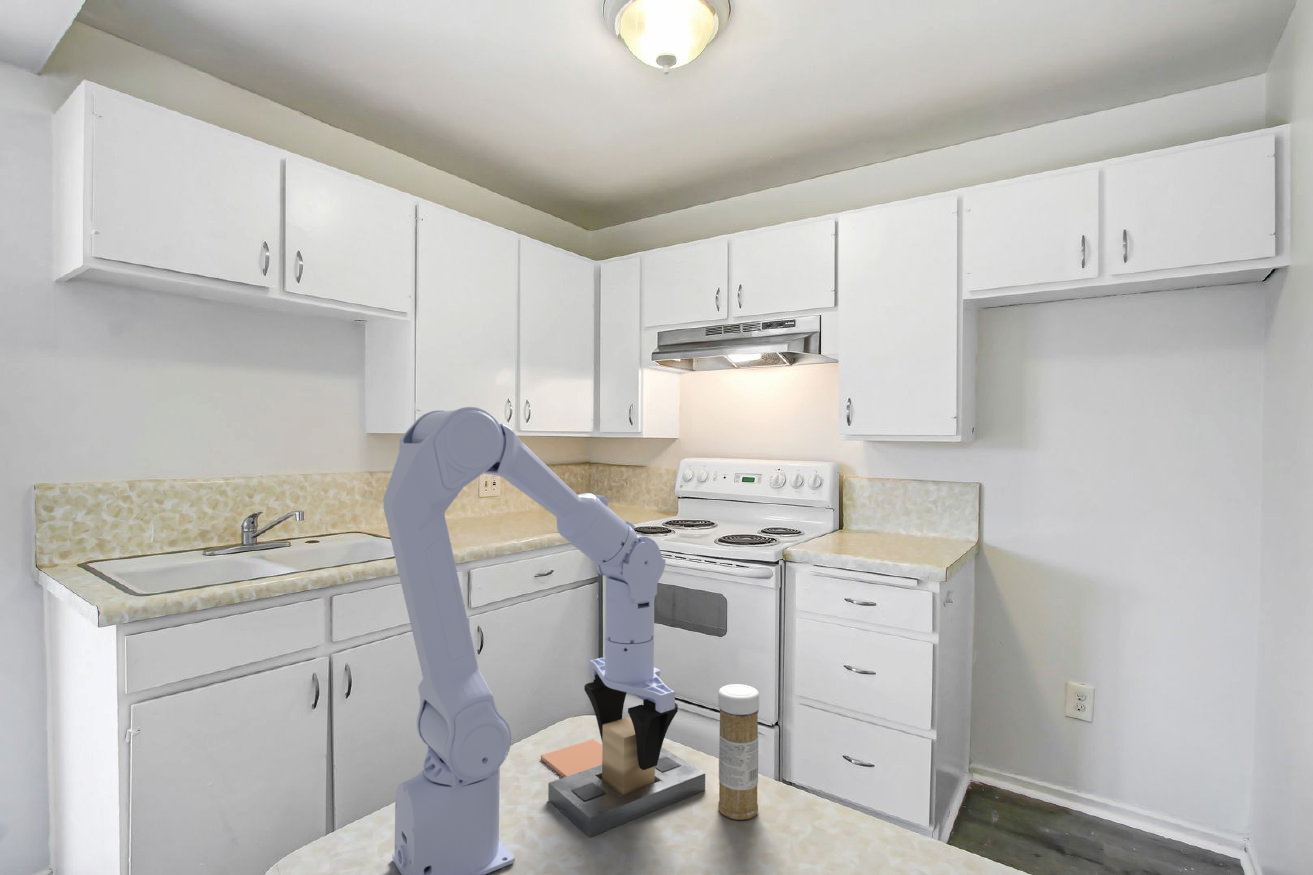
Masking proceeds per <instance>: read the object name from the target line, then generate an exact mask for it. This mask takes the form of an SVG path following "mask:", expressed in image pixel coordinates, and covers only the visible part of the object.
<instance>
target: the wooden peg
mask: <svg viewBox="0 0 1313 875" xmlns="http://www.w3.org/2000/svg"><path fill="white" fill-rule="evenodd" d="M601 745H602V781H603V782H605V783H606V784H607V785H609V786H610V787H611V788H613V789H614V790H615V791H617V792H618V793H619V794H621V795H625V794H627V793H630V792H633V791H635V790H638V789H641V788H643V787H646V786H648V785H651V784H654V783H655V766H654V767H651V768H649V769H646V770H642V769H640V767H639V764H638V757H637V742H636V735H635V730H634V726H633V723H632V720H631V718H630V716H628V717H624V718H622V719H621V720H617V721H614V722H610V723H607V724H603V738H602V740H601Z"/></svg>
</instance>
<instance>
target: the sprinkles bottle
mask: <svg viewBox="0 0 1313 875" xmlns="http://www.w3.org/2000/svg"><path fill="white" fill-rule="evenodd" d="M717 699H718V700H717V703H718V704H717V705H718V708H719V741H718V742H719V744H718V745H719V746H718V748H719V749H718V750H719V751H718V781H719V782H718V784H719V785H718V786H719V787H718V789H719V791H718V792H719V793H718V795H719V796H718V798H719V800H718V804H717V807H718V810H719V811H720V813H721V814H722V815H724V816H725V817H727V818H730V819H731V820H742V821H743V820H749V819H752V818H754V817H755V816H756V815H757V814H758V811H759V804H758V784H759V732H758V729H759V726H758V725H759V721H758V720H759V719H758V717H759V716H758V714H759V711H760V710H759V709H760V692H759V691H758V690H757V688H755V687H754V686H751V685H747V684H742V683H741V684H740V683H735V684H734V683H732V684H727V685H723V686H722V687H720V688H719V689H718V698H717Z"/></svg>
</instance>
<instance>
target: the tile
mask: <svg viewBox="0 0 1313 875" xmlns="http://www.w3.org/2000/svg"><path fill="white" fill-rule="evenodd" d="M540 760H541V761H543V763H545V764H546V765H547V766H549V767H550V768H551V769H552V770H553V771H554V772H556V773H557V774H559V776H561V777H562V778H564V777H567V776H570V775H573V774H576V773H579V772H582V771H585V770H588V769H591V768H594V767H597V766H600V765H602V743H600V742H598V741H596V740H595V739H589V740H586V741H583V742H580V743H576V744H574V745H570V746H566V747H564V748H561V749H558V750H553V751H551V752H548V753H544V754H542V755H541V754H540Z"/></svg>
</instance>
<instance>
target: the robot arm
mask: <svg viewBox="0 0 1313 875" xmlns="http://www.w3.org/2000/svg"><path fill="white" fill-rule="evenodd" d="M514 431H515V430H513V429H511V428H510V427H509V426H508V425H505V424H503V423H499V421H498V419H496V417H495V416H494V415H493V414H492V413H490V412H489V411H487V410H485V409H483V408H480V407H476V406H466V407H465V406H464V407H460V408H457V409H453V410H444V409H443V410H431V411H428V412H427V413H424V414H422V415H421V416H420V417H418V418H417V419H416V420H415V421H414V422H413V424H412V425H411V426H410V427H409V428H408V429H407V431H406V432H405V433H404V434H403V435H402V436H401V437H400V439H399V448H398V450H399V452H398V456H397V458H396V462H395V464H394V467H393V470H392V472H391V476H390V478H389V482H388V483H387V486H386V490H385V492H384V495H383V504H382V506H383V512H384V515H385V521H386V524H387V528H388V532H389V537H390V541H391V546H392V550H393V555H394V559H395V563H396V567H397V571H398V576H399V581H400V585H401V590H402V593H403V598H404V601H405V605H406V606H405V607H406V611H407V616H408V619H409V623H410V624H409V625H410V627H411V631H412V632H411V633H412V637H413V639H414V640H413V641H414V645H415V650H416V654H417V657H418V661H419V662H418V663H419V666H420V670H421V676H422V679H421V680H420V683H419V685H418V687H417V690H418V694H419V709H418V714H417V717H416V730H417V734H418V736H419V738H420V740H421V741H422V742H423V743H424V744H425V745H427V753H426V756H425V759H424V764H423V770H422V771H421V772H419V773H417V775H415V776H413V777H412V778H409V779H408V780H405V781H403V782H401V783H400V784H398V786H397V789H396V792H395V802H394V804H395V805H394V812H395V813H394V852H393V853H392V856H391V858H392V861H393V862H394V865H395V866H396V868H397V869H398V871H399V873H400V875H487V874H489V873H491V872H494V871H497V870H500V869H501V868H504V867H506V866H510V865H512V864H513V863H515V861H516V857H515V854H513V852H512V851H511V850H510V849H509V848H508V846H507V845H505V843H504V842H503V841H502V840H501V839H500V786H501V785H500V781H501V780H500V776H501V766H502V765H503V764H504V762H505V760H506V758H507V756H508V755H509V752H510V749H511V745H512V740H513V739H512V730H511V726H510V724H509V722H508V721H507V718H505V717H504V716H503V715H502V714H501V713H500V712H499V710H498V709H497V707H496V703H495V699H494V695H493V692H492V690H491V689H490V687H489V685H488V683H487V682H486V680H485V678H484V675H483V674H482V672H481V671H480V670H481V669H479V666H478V665H479V664H478V661H477V657H476V652H475V647H474V642H473V638H472V634H471V633H472V632H471V629H470V625H469V619H468V614H467V611H466V606H465V603H464V602H465V601H464V597H463V593H462V592H463V591H462V588H461V587H462V586H461V585H460V583H461V582H460V579H459V575H458V570H457V566H456V565H457V564H456V561H455V556H454V553H453V547H452V542H451V538H450V535H449V534H450V533H449V530H448V526H447V521H446V516H445V514H446V511H447V510H448V509H449V508H450V506H451V504H452V503H453V502H454V501H455V499H456V498H457V497H458V496H459V494H460V493H461V491H462V490H463V488H465V487H467V486H468V485H469V484H471V483H472V482H473V481H475V480H476V479H478V478H479V477H480V476H482V475H483V474H485V475H492V476H498V477H501V478H503V479H504V480H506V481H507V482H508V483H510V484H511V485H512V486H514V487H515V488H516V489H517V490H518V491H520V492H522V493H523V494H525V495H526V496H527V497H529V498H530V499H531V500H533V501H534V502H536V503H537V504H538V505H539V506H541V507H542V508H544V509H545V510H546V511H548V512H549V513H550V514H552V515H553V516H555V518H556V528H557V532H558V535H560V536H561V537H563V539H565V540H566V541H567V542H568V543H570V544H571V545H572V546H574V548H576V549H577V550H579V551H580V552H581V553H582V554H583V555H585V556H586V557H587V558H589V559H590V560H592V562H594V565H595V568H596V570H597V572H598V573H599V575H600V576H604V577H605V615H604V616H605V617H604V618H605V627H604V629H605V631H604V632H605V634H604V635H605V639H604V645H605V647H604V654H605V655H604V657H600V658H599V657H598V658H595V659H590V660H589V676H590V677H592V678H593V681H592V682H587V683H586V684H584V691H585V693H586V695H587V697H588V698H589V702H590V703H591V706H592V709H593V711H594V714H595V718H596V722H597V726H598V731H599V735H600V738H601V741H602V738H603V724H607V723H610V722H614V721H617V720H621V719H623V712H624V706H625V701H626V696H627V694H628V693H629V694H631V695H633V696H635V697H636V698H639V699H641V700H642V704H638V705H635V706H632V707H628V708H627V713H628V716H629V717H630V718H631V720H632V723H633V726H634V730H635V735H636V742H637V757H638V764H639V767H640V769H642V770H646V769H649V768H651V767H654V766H657V763H658V760H659V755H660V751H661V747H662V748H663V744H664V740H665V737H666V734H667V732H668V729H669V727H670V725H671V723H672V721H673V720H674V718H675V716H676V714H677V713H678V712H679V709H678V703H676V702H675V701H676V700H675V699H676V696H675V694H676V692H675V690H673V689H671V688H670V687H668V686H667V685H666V684H665V683H664V681H663V680H662V679H661V678H660V676H661V670H660V668H657V667H655V664H654V663H655V660H654V659H655V598H656V596H657V595H658V584H659V581H660V579H661V578H662V576H663V574H664V571H665V567H666V558H664V557H663V556H662V552H661V550H660V547H659V545H658V543H656V541H655V540H654V539H652V538H650V537H648V536H642V535H638V534H637V532H636V531H635V530H634V529H635V527H636V526H635V525H634V524H633V523H632V522H631V521H629V520H624V519H623V518H621V517H620V516H619V515H618V514H616V512H614V511H613V510H612V509H610V507H609V506H608V505H609V504H610V501H609V499H607V498H606V497H605V496H604V495H600V494H595V495H594V494H593V493H591V492H586V493H579V494H577V493H576V492H575V491H574V490H573V489H572V488H571V487H570V486H569V485H568V484H567V483H566V482H565V481H564V480H563V479H561V478H560V477H559V476H558V474H556V473H555V472H554V471H553V470H552V469H551V468H550V467H549V466H548V465H546V463H545V462H544V461H543V460H542V459H540V458H539V457H538V456H537V454H535V453H534V451H532V450H531V449H530V448H529V447H528V446H527V445H526V444H525V443H524V442H523V441H522V440H521V439H520V438H519V436H518V435H517V434H516V432H514Z"/></svg>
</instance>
